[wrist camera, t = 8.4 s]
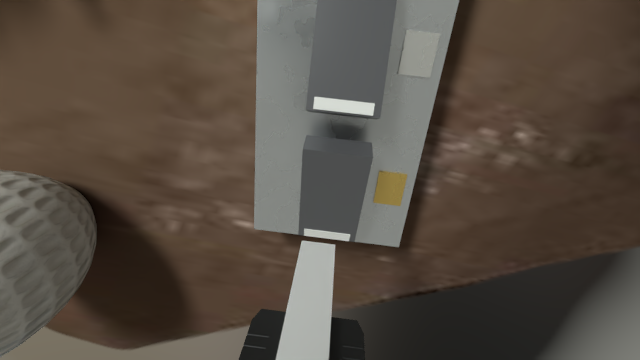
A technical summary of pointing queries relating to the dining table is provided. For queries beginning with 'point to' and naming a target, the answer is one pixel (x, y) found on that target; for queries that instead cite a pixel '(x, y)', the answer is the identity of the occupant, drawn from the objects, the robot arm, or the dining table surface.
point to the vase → (40, 252)
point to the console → (385, 133)
